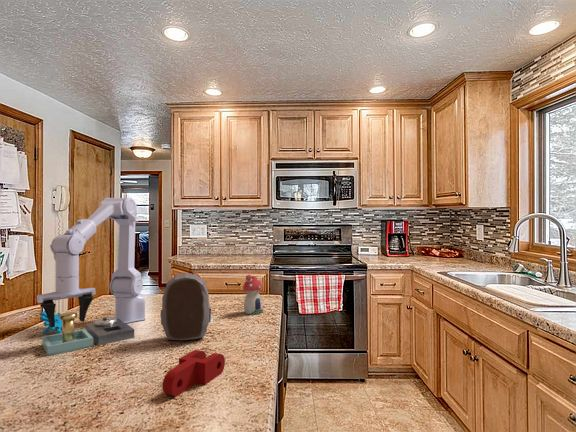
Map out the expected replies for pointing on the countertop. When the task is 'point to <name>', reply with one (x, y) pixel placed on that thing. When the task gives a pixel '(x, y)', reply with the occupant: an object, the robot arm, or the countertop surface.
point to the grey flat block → (109, 330)
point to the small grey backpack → (185, 308)
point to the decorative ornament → (252, 295)
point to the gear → (57, 325)
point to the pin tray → (55, 345)
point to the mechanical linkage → (193, 372)
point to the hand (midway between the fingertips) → (67, 323)
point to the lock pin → (67, 326)
